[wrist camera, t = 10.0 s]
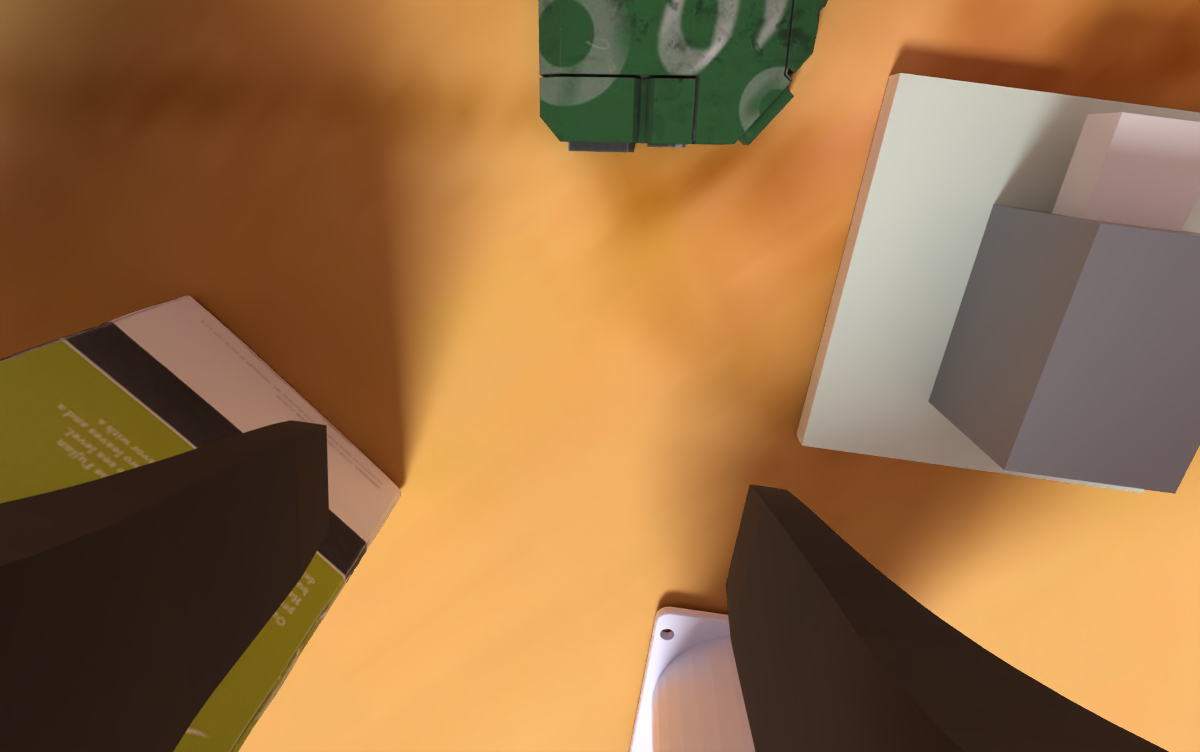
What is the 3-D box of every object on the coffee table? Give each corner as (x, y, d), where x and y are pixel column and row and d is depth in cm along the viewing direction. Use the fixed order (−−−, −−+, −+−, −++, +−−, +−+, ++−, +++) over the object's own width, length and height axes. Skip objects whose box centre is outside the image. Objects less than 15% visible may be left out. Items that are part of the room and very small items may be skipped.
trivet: (1124, 480, 21) (1142, 493, 20) (796, 434, 21) (801, 445, 21) (1291, 128, 17) (1321, 128, 17) (889, 75, 17) (900, 72, 17)
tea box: (181, 685, 27) (-299, 1254, 13) (-26, 528, 25) (-867, 1017, 11) (418, 488, 23) (81, 1013, 9) (195, 279, 21) (-697, 557, 7)
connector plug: (1063, 419, 20) (1175, 493, 16) (928, 402, 20) (1004, 470, 16) (1182, 132, 17) (1359, 129, 13) (1024, 111, 17) (1148, 102, 13)
